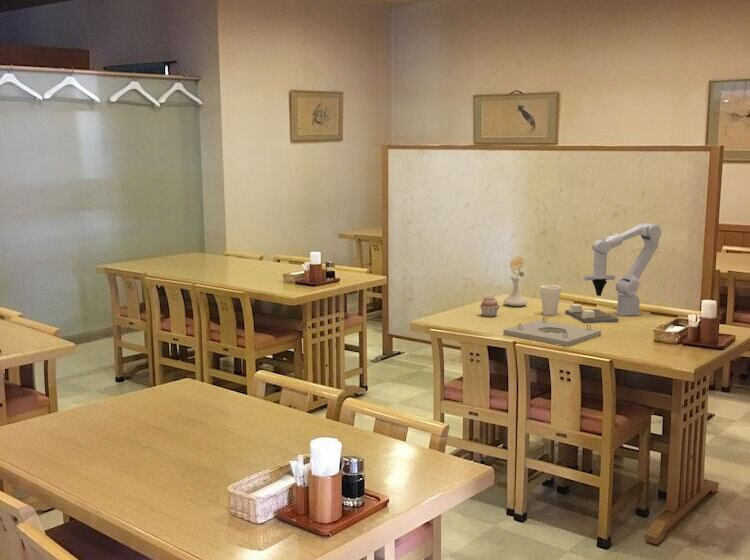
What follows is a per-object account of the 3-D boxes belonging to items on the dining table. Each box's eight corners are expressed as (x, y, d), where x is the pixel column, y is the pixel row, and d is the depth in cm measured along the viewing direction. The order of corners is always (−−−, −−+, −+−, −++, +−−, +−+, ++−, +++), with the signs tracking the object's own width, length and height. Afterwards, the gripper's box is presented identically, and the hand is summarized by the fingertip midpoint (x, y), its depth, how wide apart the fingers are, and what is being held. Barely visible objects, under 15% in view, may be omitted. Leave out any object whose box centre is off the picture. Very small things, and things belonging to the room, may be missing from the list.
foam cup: (554, 317, 378) (555, 289, 376) (536, 314, 383) (537, 287, 381) (563, 313, 385) (564, 286, 383) (545, 311, 391) (546, 284, 389)
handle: (578, 310, 385) (578, 303, 385) (581, 311, 381) (581, 305, 381) (570, 310, 384) (570, 304, 384) (573, 312, 381) (573, 305, 380)
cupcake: (494, 313, 386) (495, 292, 384) (502, 317, 377) (503, 295, 376) (475, 314, 384) (476, 293, 382) (483, 318, 375) (484, 296, 373)
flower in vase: (499, 303, 409) (500, 254, 405) (520, 302, 412) (521, 253, 408) (511, 308, 396) (512, 257, 392) (532, 307, 400) (534, 256, 396)
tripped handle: (590, 316, 371) (590, 309, 371) (594, 318, 368) (594, 311, 367) (582, 316, 371) (582, 310, 370) (585, 318, 367) (586, 311, 366)
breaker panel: (597, 312, 389) (597, 308, 389) (618, 322, 368) (618, 318, 367) (565, 313, 386) (565, 309, 386) (584, 323, 365) (584, 319, 365)
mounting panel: (568, 335, 321) (503, 324, 341) (567, 348, 322) (503, 336, 342) (601, 324, 341) (538, 314, 361) (600, 336, 341) (538, 325, 362)
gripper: (588, 267, 373) (587, 297, 375) (618, 267, 375) (617, 296, 377) (582, 265, 380) (581, 294, 382) (612, 265, 382) (610, 293, 384)
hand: (598, 295), depth 380 cm, fingers closed
